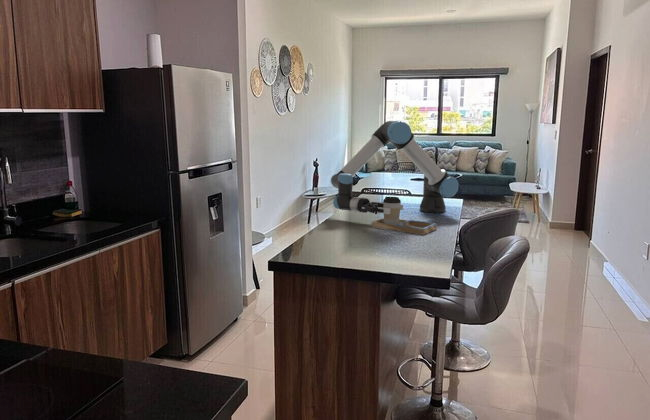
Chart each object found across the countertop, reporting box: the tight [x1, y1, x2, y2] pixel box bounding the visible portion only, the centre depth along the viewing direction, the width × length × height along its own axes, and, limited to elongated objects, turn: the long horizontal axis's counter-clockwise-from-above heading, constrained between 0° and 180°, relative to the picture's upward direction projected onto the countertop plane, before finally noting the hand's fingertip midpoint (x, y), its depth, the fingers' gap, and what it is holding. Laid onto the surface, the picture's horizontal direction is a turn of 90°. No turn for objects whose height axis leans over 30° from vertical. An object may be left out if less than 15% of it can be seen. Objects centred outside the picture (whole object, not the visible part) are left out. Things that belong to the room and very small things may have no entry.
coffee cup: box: [382, 195, 402, 225], centre depth 244 cm, size 9×9×15 cm
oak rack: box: [371, 217, 438, 236], centre depth 241 cm, size 15×28×3 cm, turn 54°
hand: (396, 209), depth 242 cm, fingers open, 13 cm apart
